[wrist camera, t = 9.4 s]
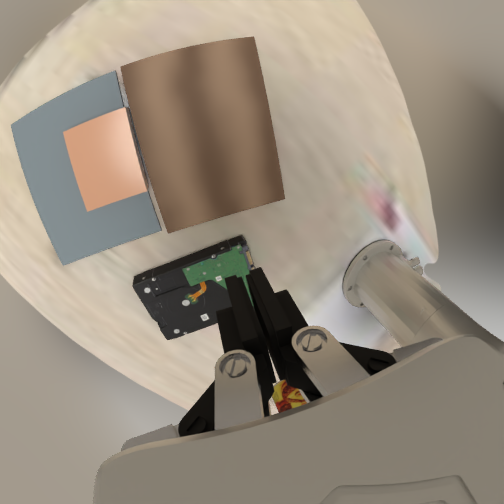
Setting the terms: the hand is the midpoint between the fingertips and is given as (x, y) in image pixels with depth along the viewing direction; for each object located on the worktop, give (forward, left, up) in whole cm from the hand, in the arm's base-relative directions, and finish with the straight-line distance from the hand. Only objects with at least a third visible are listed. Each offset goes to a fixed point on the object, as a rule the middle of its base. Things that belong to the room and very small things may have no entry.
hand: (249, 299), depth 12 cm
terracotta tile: (+9, -6, -20) cm, 23 cm away
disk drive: (+4, +13, -21) cm, 25 cm away
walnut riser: (-2, -6, -20) cm, 21 cm away
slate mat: (+13, -6, -20) cm, 25 cm away
